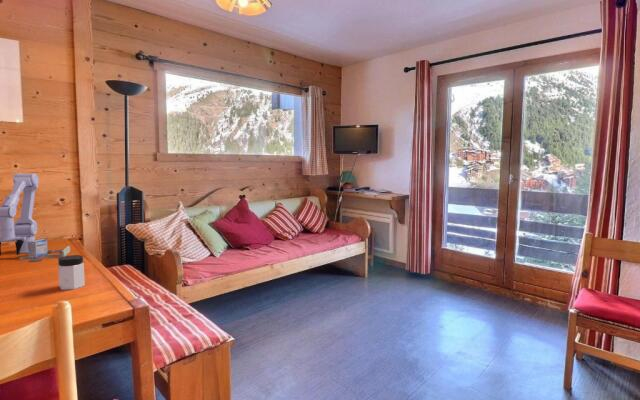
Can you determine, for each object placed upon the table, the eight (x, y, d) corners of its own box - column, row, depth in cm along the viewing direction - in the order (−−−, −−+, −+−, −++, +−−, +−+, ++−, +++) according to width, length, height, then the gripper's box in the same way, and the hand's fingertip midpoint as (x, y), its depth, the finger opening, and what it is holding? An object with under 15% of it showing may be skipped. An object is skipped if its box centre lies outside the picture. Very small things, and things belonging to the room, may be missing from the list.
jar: (54, 290, 140) (52, 260, 139) (64, 284, 148) (62, 255, 147) (80, 289, 142) (79, 259, 141) (88, 282, 150) (87, 254, 149)
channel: (28, 254, 198) (28, 248, 198) (70, 251, 206) (69, 246, 206) (19, 260, 186) (19, 254, 185) (64, 256, 193) (64, 251, 193)
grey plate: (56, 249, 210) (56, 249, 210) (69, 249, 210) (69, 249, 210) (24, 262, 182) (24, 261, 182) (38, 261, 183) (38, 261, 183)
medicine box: (36, 258, 190) (35, 241, 190) (28, 257, 190) (27, 241, 190) (48, 254, 198) (47, 238, 197) (39, 254, 198) (39, 238, 198)
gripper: (-15, 231, 181) (-13, 258, 183) (22, 229, 187) (23, 255, 188) (-9, 229, 188) (-7, 255, 189) (26, 227, 194) (28, 252, 195)
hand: (8, 255), depth 189 cm, fingers open, 7 cm apart
